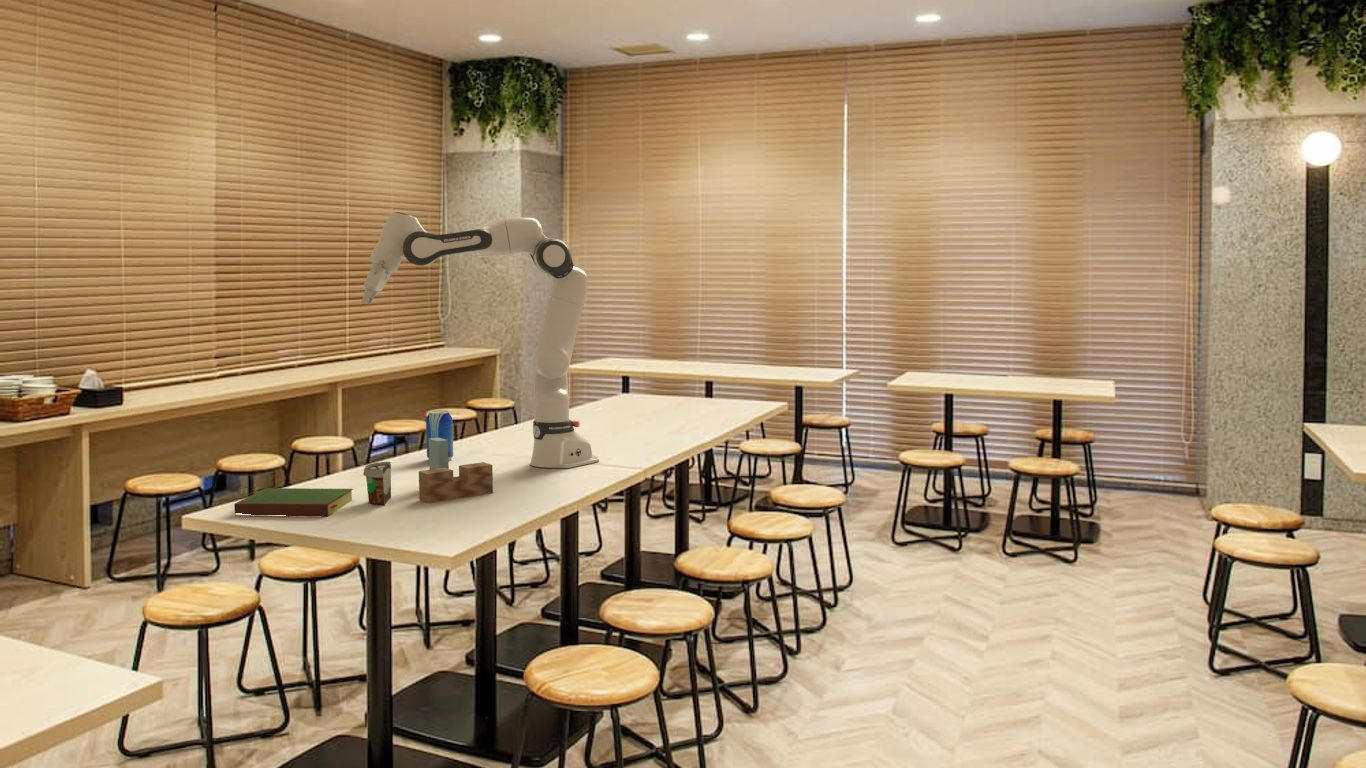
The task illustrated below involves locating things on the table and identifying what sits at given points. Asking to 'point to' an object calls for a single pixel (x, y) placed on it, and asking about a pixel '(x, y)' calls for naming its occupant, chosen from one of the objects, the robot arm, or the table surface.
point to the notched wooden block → (455, 482)
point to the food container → (378, 482)
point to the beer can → (440, 429)
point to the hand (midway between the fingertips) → (365, 303)
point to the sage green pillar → (438, 453)
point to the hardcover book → (294, 502)
